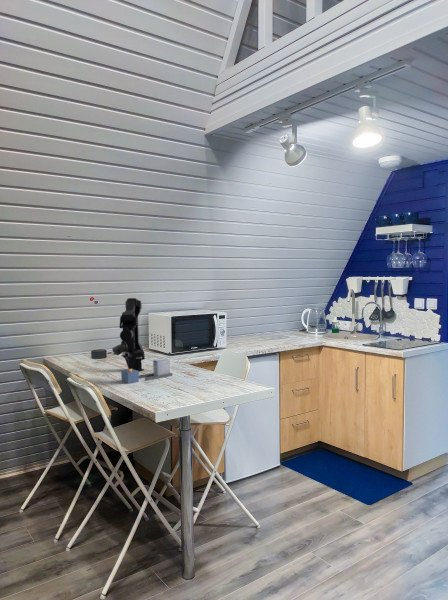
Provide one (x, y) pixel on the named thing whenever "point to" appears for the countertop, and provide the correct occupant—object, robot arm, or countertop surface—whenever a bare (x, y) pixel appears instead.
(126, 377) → the blue hollow block
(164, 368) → the medicine box
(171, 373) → the rails
